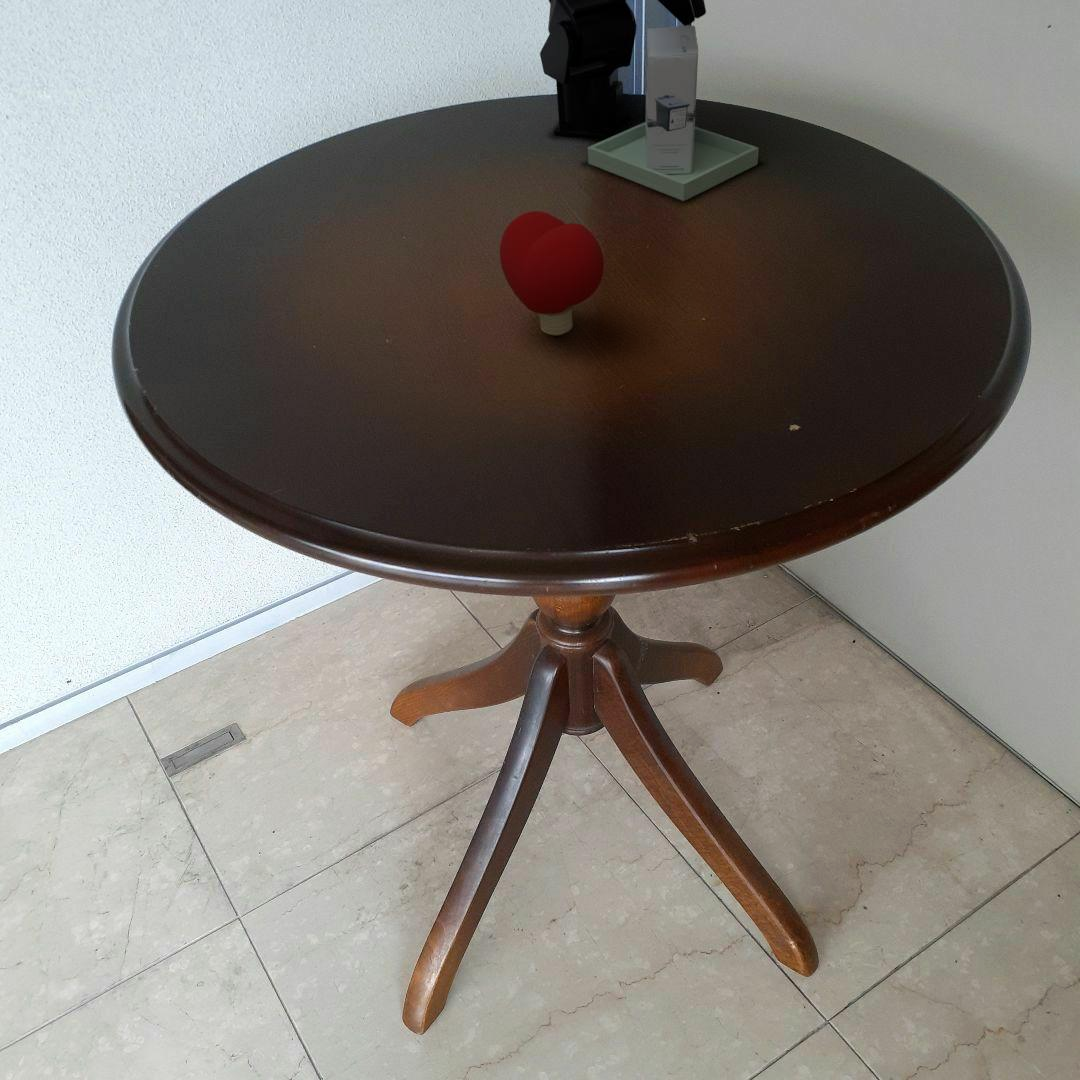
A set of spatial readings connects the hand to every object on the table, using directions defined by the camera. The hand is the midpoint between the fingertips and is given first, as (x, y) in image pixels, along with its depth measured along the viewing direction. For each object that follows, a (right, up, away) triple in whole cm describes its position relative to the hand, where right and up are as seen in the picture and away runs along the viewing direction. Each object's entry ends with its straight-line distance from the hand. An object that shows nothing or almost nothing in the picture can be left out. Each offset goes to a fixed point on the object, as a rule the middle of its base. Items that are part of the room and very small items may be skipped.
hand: (696, 19), depth 99 cm
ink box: (-1, -10, +9) cm, 14 cm away
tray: (-1, -11, +9) cm, 14 cm away
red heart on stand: (-14, -33, -13) cm, 38 cm away
